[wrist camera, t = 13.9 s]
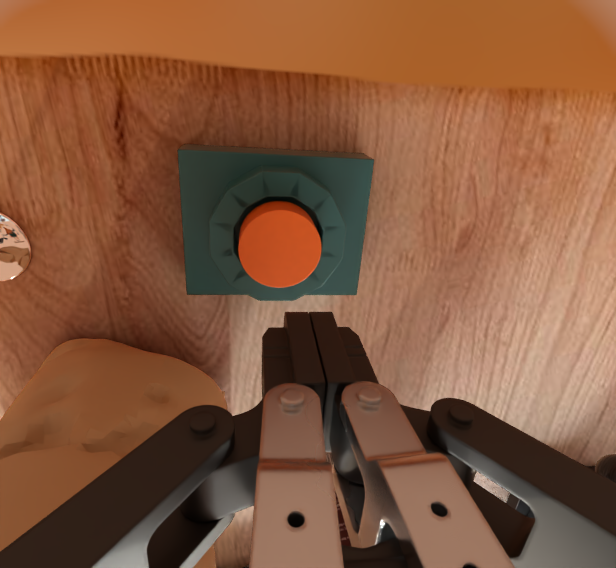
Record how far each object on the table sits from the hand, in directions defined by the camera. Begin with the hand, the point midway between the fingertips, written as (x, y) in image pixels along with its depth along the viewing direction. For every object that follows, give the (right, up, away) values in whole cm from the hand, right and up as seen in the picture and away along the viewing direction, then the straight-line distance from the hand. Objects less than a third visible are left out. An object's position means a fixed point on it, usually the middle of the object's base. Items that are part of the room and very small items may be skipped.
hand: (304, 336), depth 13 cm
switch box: (-2, +6, +11) cm, 13 cm away
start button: (-1, +4, +8) cm, 9 cm away
